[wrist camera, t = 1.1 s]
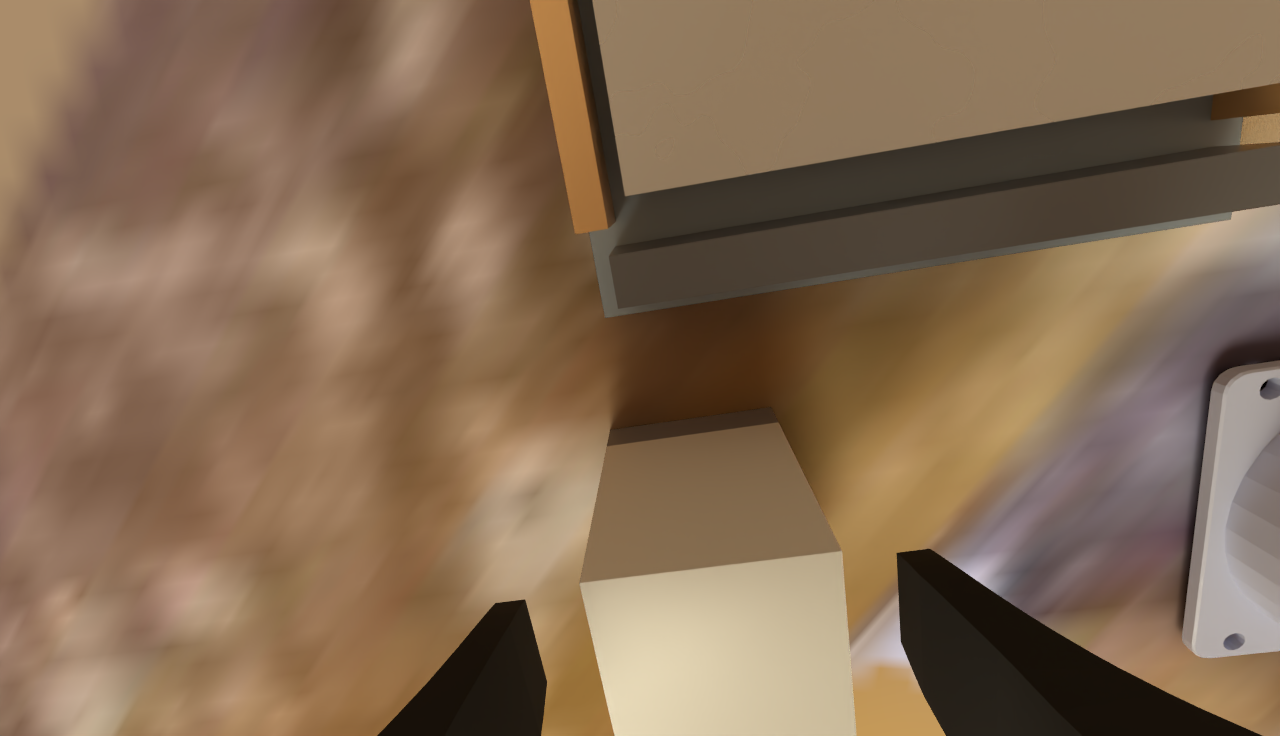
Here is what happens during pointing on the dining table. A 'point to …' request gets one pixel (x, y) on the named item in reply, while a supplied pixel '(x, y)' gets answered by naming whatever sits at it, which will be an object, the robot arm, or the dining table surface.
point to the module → (716, 585)
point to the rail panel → (890, 190)
